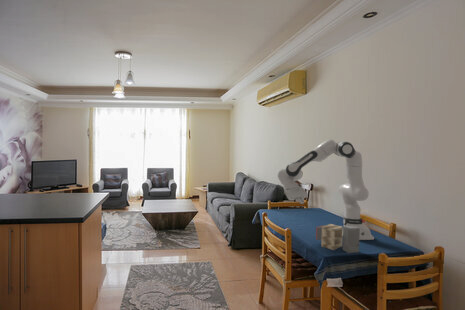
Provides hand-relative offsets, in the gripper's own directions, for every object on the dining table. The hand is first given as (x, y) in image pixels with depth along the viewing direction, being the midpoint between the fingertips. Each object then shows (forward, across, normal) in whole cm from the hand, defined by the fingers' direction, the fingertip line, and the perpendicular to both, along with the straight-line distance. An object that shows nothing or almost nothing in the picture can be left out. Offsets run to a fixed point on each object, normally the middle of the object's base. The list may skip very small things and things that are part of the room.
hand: (302, 203), depth 220 cm
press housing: (+35, 0, +1) cm, 35 cm away
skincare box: (+44, +1, -8) cm, 44 cm away
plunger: (+28, 0, +3) cm, 28 cm away
